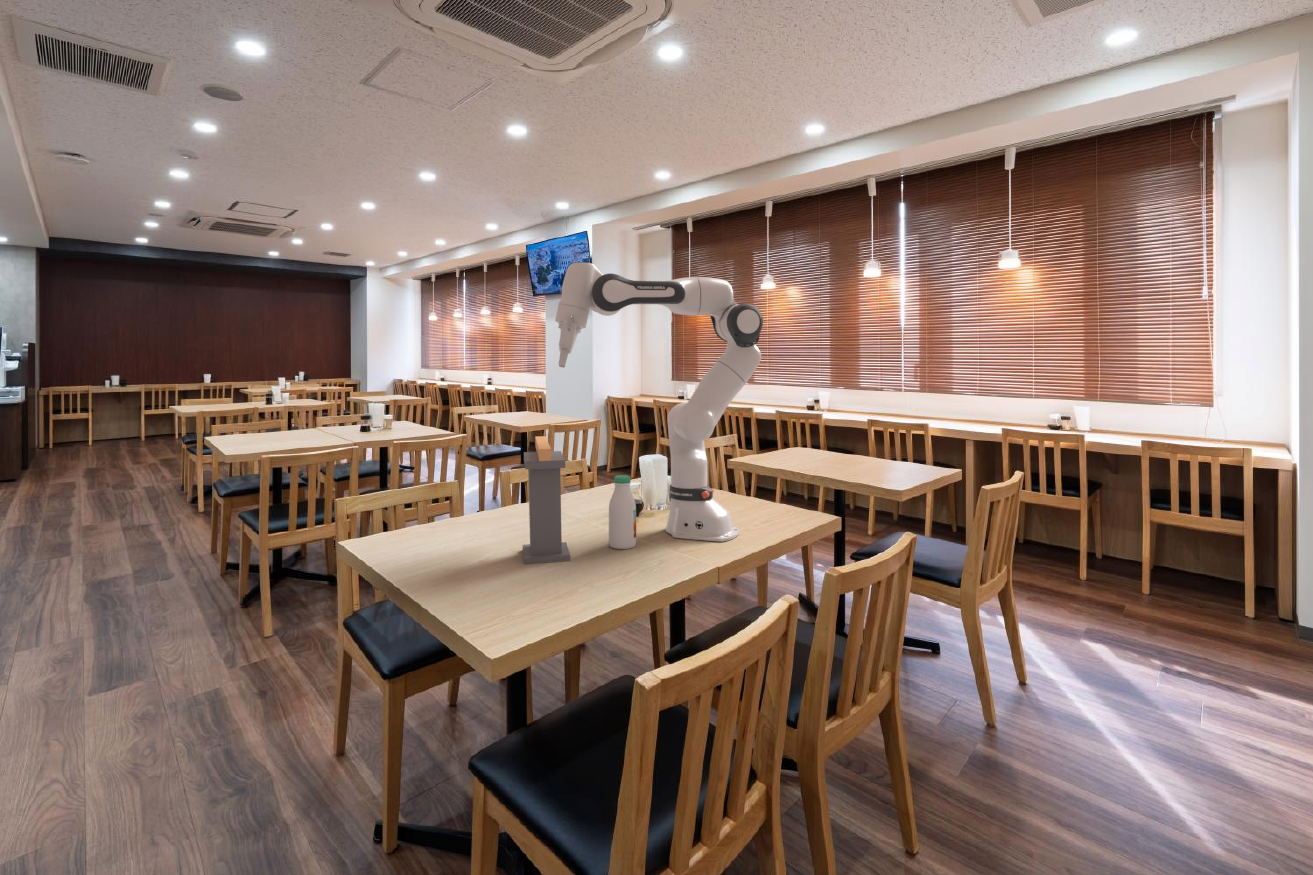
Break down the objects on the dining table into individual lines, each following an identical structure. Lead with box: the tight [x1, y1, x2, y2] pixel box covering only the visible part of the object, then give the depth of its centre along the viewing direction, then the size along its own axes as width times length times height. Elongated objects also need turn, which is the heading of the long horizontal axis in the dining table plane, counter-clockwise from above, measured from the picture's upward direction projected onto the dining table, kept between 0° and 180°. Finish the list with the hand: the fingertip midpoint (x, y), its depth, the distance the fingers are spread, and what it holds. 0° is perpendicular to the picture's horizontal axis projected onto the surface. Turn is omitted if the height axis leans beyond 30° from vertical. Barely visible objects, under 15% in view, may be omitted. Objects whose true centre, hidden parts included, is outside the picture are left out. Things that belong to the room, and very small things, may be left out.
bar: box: [534, 435, 552, 461], centre depth 173 cm, size 26×3×3 cm, turn 13°
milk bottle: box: [608, 474, 637, 550], centre depth 179 cm, size 8×8×20 cm
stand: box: [522, 450, 571, 564], centre depth 170 cm, size 16×12×27 cm
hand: (561, 366), depth 181 cm, fingers open, 8 cm apart
